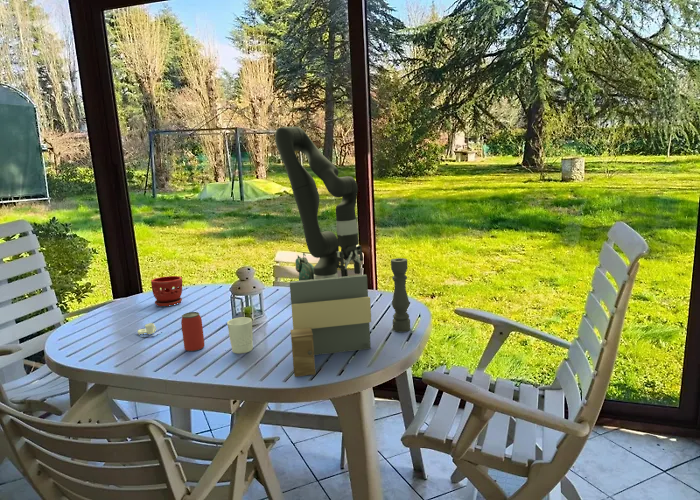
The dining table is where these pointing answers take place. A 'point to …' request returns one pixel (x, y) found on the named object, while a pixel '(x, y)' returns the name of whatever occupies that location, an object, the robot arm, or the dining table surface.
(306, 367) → the cabinet
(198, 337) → the beer can
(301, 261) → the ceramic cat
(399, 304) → the candle holder
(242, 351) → the white cup
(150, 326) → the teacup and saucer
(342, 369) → the dining table surface
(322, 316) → the wall board
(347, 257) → the robot arm
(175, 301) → the plant pot
